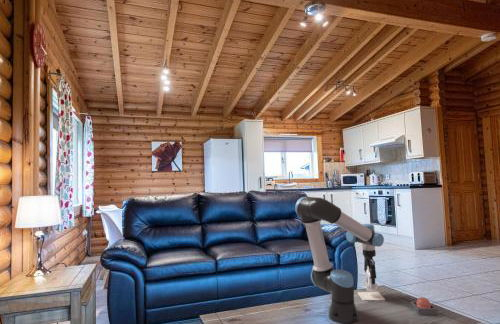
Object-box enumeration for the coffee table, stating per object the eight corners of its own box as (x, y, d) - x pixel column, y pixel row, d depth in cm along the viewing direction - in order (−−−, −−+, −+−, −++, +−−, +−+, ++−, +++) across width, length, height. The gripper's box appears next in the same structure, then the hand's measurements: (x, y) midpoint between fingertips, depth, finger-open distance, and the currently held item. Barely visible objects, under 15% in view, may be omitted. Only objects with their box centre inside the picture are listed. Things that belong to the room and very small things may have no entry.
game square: (363, 300, 194) (363, 299, 194) (357, 292, 207) (357, 291, 207) (385, 300, 193) (385, 299, 193) (378, 292, 206) (378, 291, 206)
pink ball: (420, 313, 174) (419, 300, 175) (414, 308, 181) (413, 295, 182) (433, 313, 174) (432, 300, 174) (427, 308, 181) (426, 295, 181)
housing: (418, 314, 173) (418, 308, 173) (410, 307, 183) (410, 301, 183) (437, 314, 172) (437, 308, 173) (428, 307, 182) (428, 301, 183)
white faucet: (374, 287, 205) (373, 263, 205) (379, 293, 195) (378, 268, 196) (362, 287, 205) (361, 263, 206) (367, 293, 196) (366, 268, 196)
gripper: (381, 253, 190) (382, 292, 189) (369, 245, 212) (371, 280, 211) (367, 253, 191) (369, 292, 190) (358, 245, 212) (359, 280, 212)
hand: (370, 286), depth 200 cm, fingers closed on white faucet, 9 cm apart
